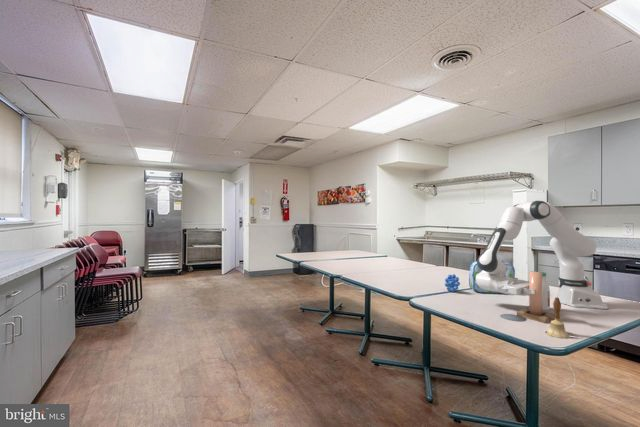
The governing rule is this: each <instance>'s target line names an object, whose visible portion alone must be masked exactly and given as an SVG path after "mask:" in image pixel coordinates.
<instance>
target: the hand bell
mask: <svg viewBox="0 0 640 427" xmlns="http://www.w3.org/2000/svg"><path fill="white" fill-rule="evenodd" d="M553 300H554V301H553V303H552V304H553V309H554V314H555V319H553V320H551V321H550V326H549V327H548V329H547V330H546V331H545V332H544V333H545V334H546V335H548V336H550V337H553V338H556V337H557V338H558V339H563V338H566V339H569V338H570V334H568V332H567V331H566V328H565V324H564V322H563V321H561V316H560V312H561V309H562V303H560V300H559V298H558V297H557V296H556V297H555V298H554V299H553Z"/></svg>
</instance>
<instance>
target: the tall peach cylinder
mask: <svg viewBox="0 0 640 427" xmlns="http://www.w3.org/2000/svg"><path fill="white" fill-rule="evenodd" d="M528 276H529V289H533V290H536V293H535V294H531V293H528V294H529V295H528V297H529V302H528V303H529V306H528V308H529V314H534V315H538V316H542V311H543V310H542V273H541V271H530V270H529V275H528Z"/></svg>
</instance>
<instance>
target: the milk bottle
mask: <svg viewBox="0 0 640 427" xmlns="http://www.w3.org/2000/svg"><path fill="white" fill-rule="evenodd" d="M540 272H541V271H540ZM541 273H542V311H547V310H548V311H549V310H551V309H550V308H551V302H550V301H551V298H550V296H551V293H550V292H551V290H550V286H549V283H548V282H547V272H541Z"/></svg>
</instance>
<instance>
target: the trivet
mask: <svg viewBox="0 0 640 427" xmlns="http://www.w3.org/2000/svg"><path fill="white" fill-rule="evenodd" d="M499 317H500V318H501V319H504V320H508V321H511V322H520V323H521V322H526V321H527V320H528V319H526V318H523V317H519V316H517V314H512V313H502V314H500V315H499Z"/></svg>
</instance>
